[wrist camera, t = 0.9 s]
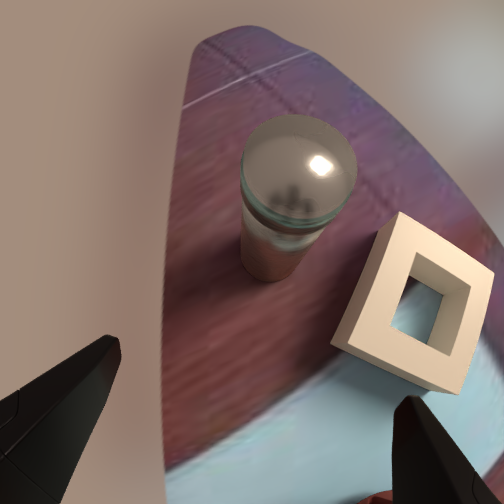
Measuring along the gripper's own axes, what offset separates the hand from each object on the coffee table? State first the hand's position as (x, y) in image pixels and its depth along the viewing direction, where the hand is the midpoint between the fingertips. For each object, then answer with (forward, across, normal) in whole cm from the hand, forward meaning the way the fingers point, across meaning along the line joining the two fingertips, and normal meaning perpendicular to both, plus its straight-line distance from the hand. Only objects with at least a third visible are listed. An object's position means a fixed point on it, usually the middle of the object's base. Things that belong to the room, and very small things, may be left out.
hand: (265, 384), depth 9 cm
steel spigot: (+15, 0, +4) cm, 16 cm away
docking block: (+14, -12, +6) cm, 19 cm away
